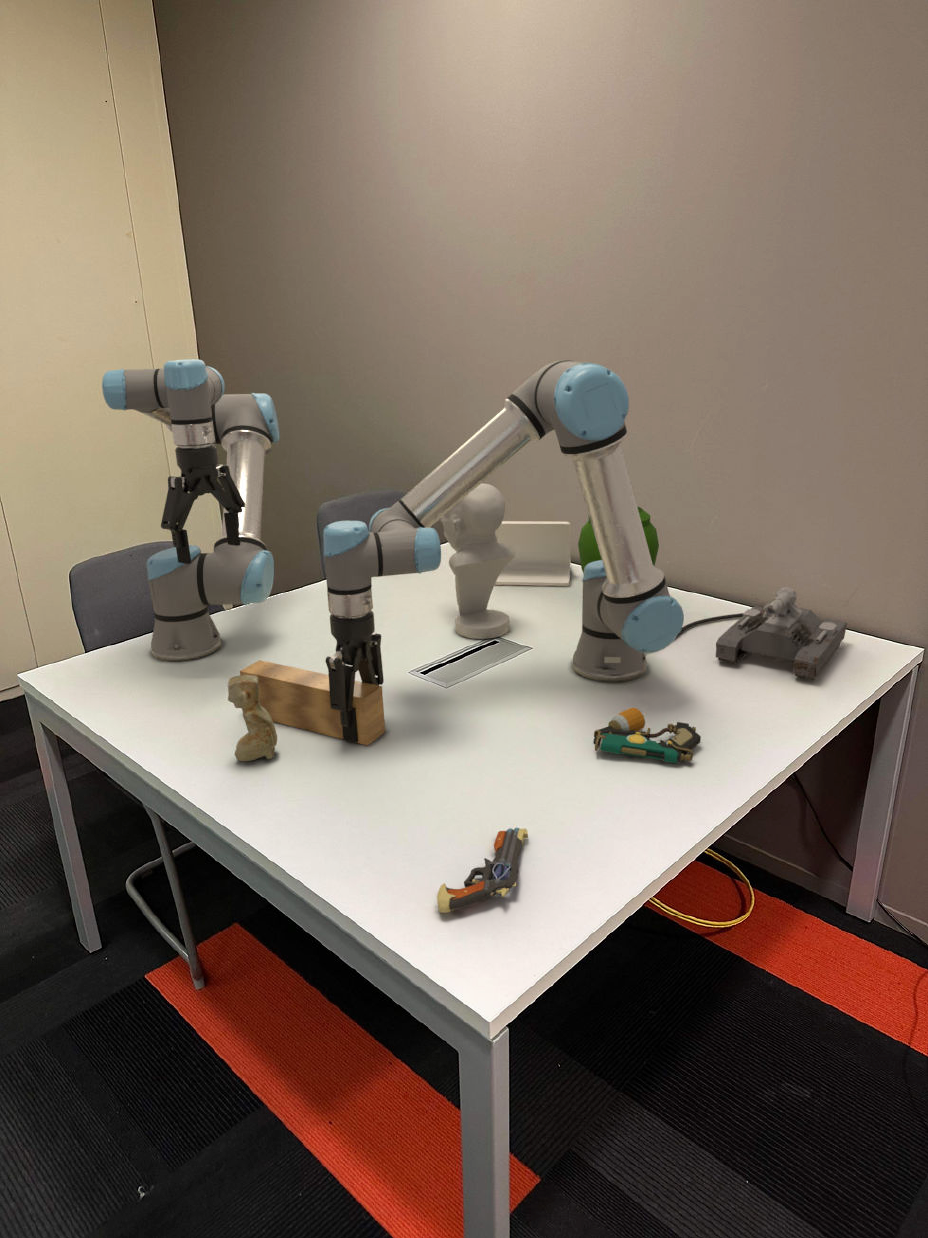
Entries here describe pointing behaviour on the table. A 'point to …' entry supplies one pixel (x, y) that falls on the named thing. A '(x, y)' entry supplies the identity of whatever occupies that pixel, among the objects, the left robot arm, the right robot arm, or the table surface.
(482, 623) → the bust sculpture
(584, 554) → the vase
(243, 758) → the sculpture
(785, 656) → the toy
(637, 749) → the spray gun
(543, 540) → the tablet stand
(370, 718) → the bar
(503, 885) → the toy gun
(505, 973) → the table surface
